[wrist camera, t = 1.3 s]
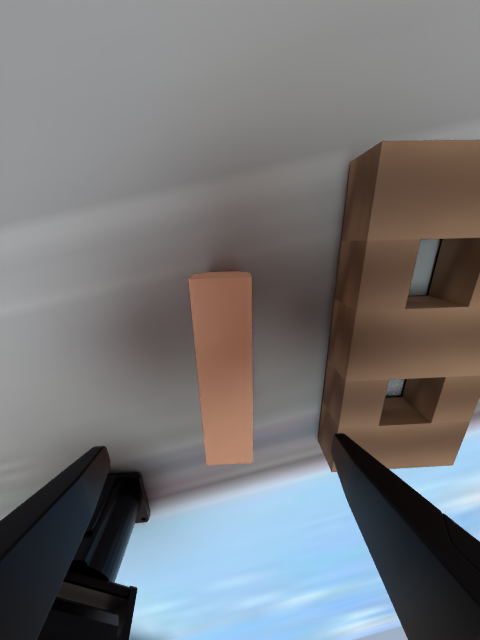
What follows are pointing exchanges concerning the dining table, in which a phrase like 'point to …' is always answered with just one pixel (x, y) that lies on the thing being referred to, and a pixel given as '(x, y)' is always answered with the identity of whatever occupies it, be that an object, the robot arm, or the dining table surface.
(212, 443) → the tall terracotta pillar
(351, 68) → the dining table surface
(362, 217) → the brown slotted board
